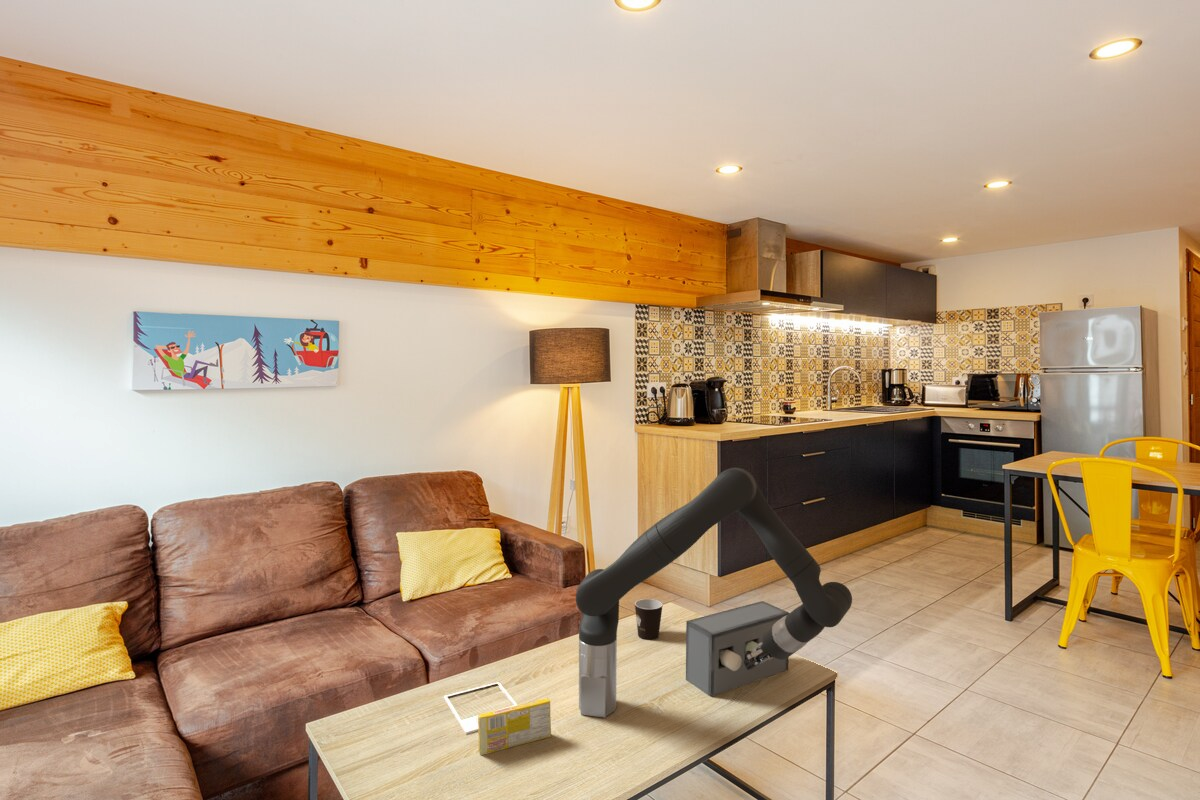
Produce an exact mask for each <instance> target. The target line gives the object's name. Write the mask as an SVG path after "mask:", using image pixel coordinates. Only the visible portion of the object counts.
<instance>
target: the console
mask: <svg viewBox="0 0 1200 800" xmlns="http://www.w3.org/2000/svg"><path fill="white" fill-rule="evenodd" d="M789 613H790V612H788V611H786V610H784V609H781V608H779V607H778V606H775V605H772V604H770V603H768V602H766V601H761V600H760V601H757V602H754V603H751V604H746V605H742V606H738V607H735V608H734V607H733V608H731V609H727V610H723V611H721V612H720V611H719V612H716V613H711V614H708V615H704V616H700V617H696V618H693V619H689V620H686V621H685V623H686V624H685V625H686V626H685V628H686V630H685V631H686V632H685V634H686V635H685V637H686V638H685V680H686V681H687V682H688V683H690V684H691V685H693V686H694V687H695V688H697V689H699V690H700V691H701V692H703V693H705V694H706V695H708V696H709V697H714V696H718V695H720V694H723V693H726V692H728V691H731V690H734V689H736V688H740V687H743V686H745V685H749V684H751V683H754V682H757V681H759V680H763V679H765V678H769V677H771V676H774V675H778V674H780V673H782V672H786V671H788V670H789V657H788V658H786V659H783V660H780V659H777V658H775V657H774V658H772V659H771V660H769V661H765V662H763V663H762V664H761V663H759V664H758V665H757V666H755V667H754V668H753V669H750V670H747V669H746V667H745V665H744V661H745V660H746V659H747V657H746V655H745V642H747V641H750V640H752V641H754V642H756V643H757V644H759V643H761V642H763V634H764V632H765V631H766V630H767V629H768V628H769V627H771V626H772V625H773V624H774V623H776V622H777V621H778V620H780V619H781V618H782V617H784V616H786V615H788V614H789ZM721 649H722V650H724V651H725V650H730V651H732V652H734V653H736V654H737V655H739V656H740V657H741V659H742V662H741V666H740V667H739V669H738V670H736V671H733V670H731V669H729V668H727V667H726V666H724V665H722V664H721V661H720V659H719V650H721Z"/></svg>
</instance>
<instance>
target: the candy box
mask: <svg viewBox="0 0 1200 800" xmlns="http://www.w3.org/2000/svg"><path fill="white" fill-rule="evenodd" d="M512 706H513V705H512ZM508 707H509V706H508ZM504 708H505V709H502V708H500V709H501V710H499V709H496V710H497V711H495V710H492V711H489V712H484V713H480V714H478V731H477V732H478V752H479V755H480V756H482V755H487V754H491V753H494V752H499V751H502V750H505V749H509V748H513V747H517V746H520V745H526V744H528V743H532V742H537V741H540V740H543V739H548V738H551V737H552V728H551V727H552V726H551V724H552V723H551V700H550V699H549V698H547V697H546V698H542V699H538V700H534V701H531V702H530V701H529V702H526V703H523V704H517V706H513V707H509V708H506V707H504Z"/></svg>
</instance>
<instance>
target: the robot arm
mask: <svg viewBox="0 0 1200 800" xmlns="http://www.w3.org/2000/svg"><path fill="white" fill-rule="evenodd" d="M737 512H738V513H739V514H740V516H742V517H743V519H745V520H746V521H747V522H748V524H749V525H750V526H751V527H752V529H753V530H754V532H755V533H756V534H757V536H758V537H759V539H760V540H761V542H762V543H763V545H764V546H765V548H766V549H767V551H768V553H769V555H770V556H771V557H772V559H773V560H774V561H775V563H776V565H777V566H778V567H779V568H780V570H781V571H782V573H784V574H785V575H786V577H787V578H788V580H790V581H791V582H792V584H793V586H794V588H795V590H796V593H797V596H798V597H799V598H800V601H801V602H802V604H801V605H798V606H797V607H796V608H794V609H793V610H792V611H791V612H789V614H788V615H786V616H784V617H782V618H781V619H780V620H778V621H777V622H776V623H774V624H773V625H772V626H771V627H769V628H768V629H767V630H766V631H765V632H764V634H763V642H761V643H759V644H758V646H757V647H756V648H755V649H754V650H753V652H752V651H746V652H745V654H746V657H747V659H746V660H745V661H744V665H745V667H746V669H747V670H750V669H753V668H754V667H755V666H757V665H758V664H759V663H761V664H762V663H763V662H765V661H769V660H771V659H772V658H774V657H775V658H777V659H780V660H783V659H786V658H788V659H789V657H791V656H792V655H794V654H796V652H798V651H800V650H801V649H803V647H805V646H806V645H807V644H808V642H810V641H812V640H813V639H814V638H816V637H817V636H819V635H820V633H822V631H823V630H824V629H825V628H834V627H836V626H837V625H839V623H841V622H842V620H843V619H844V617H846V614H847V613H848V612H849V610H850V609H851V607H852V604H853V596H852V592H851V591H850V588H848V587H847V586H846V585H845V584H843V583H841V582H838V581H828V582H826V583H824V584H823V585H822V582H821V581H820V576H821V571H822V569H821V566H820V565H819V563H818V561H817V560H816V559H815V558H814V557H813V555H812V554H811V553H810V552H809V551H808V550H807V549H806V547H805V546H804V544H802V542H800V540H799V539H798V538H797V537H796V536H795V534H794V533H793V532H792V530H790V529H789V528H788V526H786V524H785V523H784V522H783V520H781V518H780V517H779V516H778V514H777V513H776V512H775V510H774V509H773V508H772V506H771V505H770V503H768V500H767V499H766V498H765V496H764V495H763V493H762V491H761V489H760V487H759V486H758V484H757V482H756V480H755V478H754V476H753V475H752V474H751V473H750V472H749V471H747V470H746V469H744V468H740V467H731V468H728V469H725V470H723V471H722V472H720V473H719V474H717V476H716V477H715V478H714V479H713V481H711V482H710V484H709V485H707V486H706V487H705V488H704V489H703V490H702V491H700V493H699V494H698V495H696V497H694V498H693V499H692V500H691V501H689V502H688V503H685V504H684V505H683V506H681V507H679V508H677V509H675V510H674V511H672V512H671V513H669V514H667V515H665V516H664V517H663V518H661V519H660V520H659V521H657V522H655V523H654V524H653V525H652V526H651V527H649V528H648V529H646V531H644V532H643V533H642V534H641V535H640V536H638V538H636V540H635V541H633V543H632V544H630V546H629V547H627V549H626V550H625V551H624V552H623V553H622V554H621V555H620V557H618V558H617V559H616V560H615V561H613V562H612V564H610V565H608V566H607V567H606V568H604V569H603V568H598V569H593V570H592V571H590V572H589V573H587V574H586V575H585V577H584V578H583V579H582V580H581V582H580V583H579V585H578V587H577V589H576V592H575V604H576V606H577V608H578V610H579V612H581V620H580V624H579V628H578V708H579V710H580V715H583V716H584V715H585V716H590V717H596V718H597V717H598V718H607V716H608V715H610V714H613V713H614V712H615V711H616V709H617V659H618V658H617V656H618V655H617V653H618V652H617V651H618V650H617V647H618V646H617V645H618V641H617V640H618V639H617V638H618V627H619V622H620V621H619V617H620V600H621V599H622V598H623V597H624V596H625V595H627V594H628V593H629V592H630V591H631V590H633V589H634V588H635V587H636V586H638V585H639V584H641V583H642V582H644V581H646V580H647V579H649V578H651V577H652V576H654V575H655V574H656V573H658V572H660V571H661V570H662V569H665V567H667V566H669V565H671V563H673V562H674V561H676V560H677V559H678V558H679V557H681V556H682V555H684V553H686V552H687V551H688V550H689V549H690V548H691V547H693V546H694V545H695V544H696V543H697V542H698V541H699V540H700V538H702V537H703V536H704V534H706V533H707V532H708V531H709V529H711V528H713V527H714V526H716V525H717V524H718V523H719V522H721V521H723V520H725V519H726V518H728V517H730V516H731V515H733V514H735V513H737Z"/></svg>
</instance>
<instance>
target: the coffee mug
mask: <svg viewBox="0 0 1200 800" xmlns="http://www.w3.org/2000/svg"><path fill="white" fill-rule="evenodd" d="M663 605H664V604H663V603H662V602H661V601H660V600H657V599H652V598H642V599H638V600H636V601H635V602H634V611H635V619H636V628H637V629H636V630H637V636H638V638H639V639H641V640H647V641H652V640H653V641H654V640H656V639H659V635H660V631H661V630H660V628H661V620H662V614H663V613H662V612H663Z"/></svg>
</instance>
